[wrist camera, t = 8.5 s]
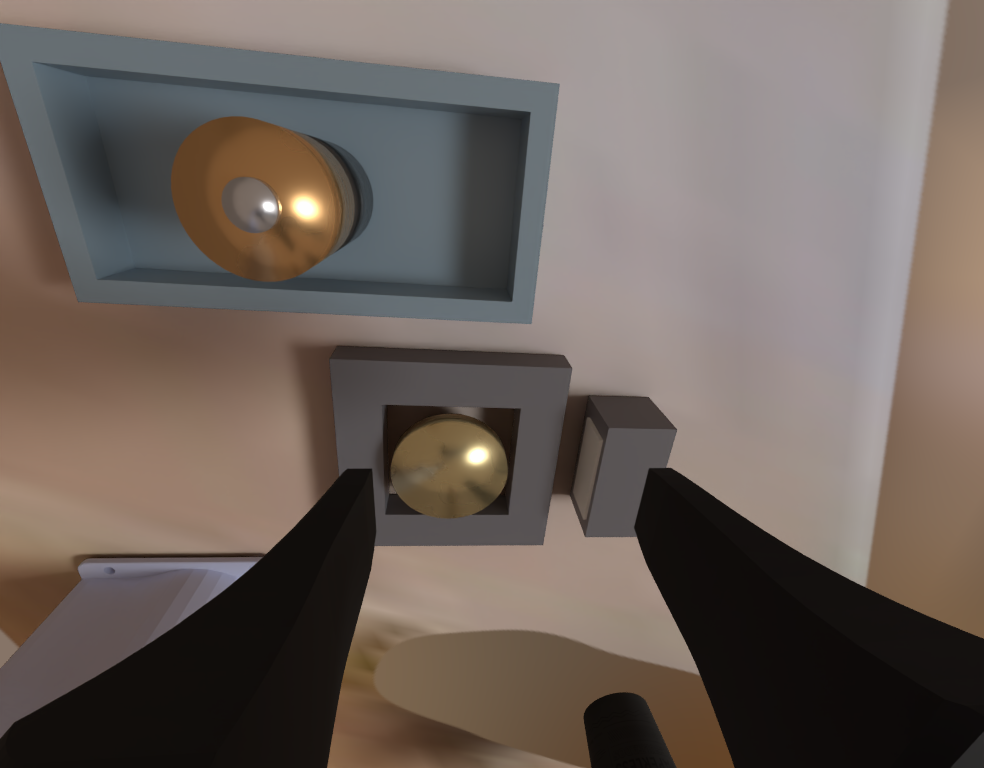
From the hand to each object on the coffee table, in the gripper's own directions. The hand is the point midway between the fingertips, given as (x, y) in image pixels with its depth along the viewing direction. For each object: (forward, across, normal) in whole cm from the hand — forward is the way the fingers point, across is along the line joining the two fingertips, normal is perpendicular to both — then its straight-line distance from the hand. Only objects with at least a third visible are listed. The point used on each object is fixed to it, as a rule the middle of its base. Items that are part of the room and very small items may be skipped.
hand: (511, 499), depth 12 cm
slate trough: (+9, +6, -7) cm, 13 cm away
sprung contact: (+8, +2, +5) cm, 9 cm away
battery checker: (+9, -1, +5) cm, 10 cm away
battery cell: (+9, +6, -7) cm, 13 cm away
